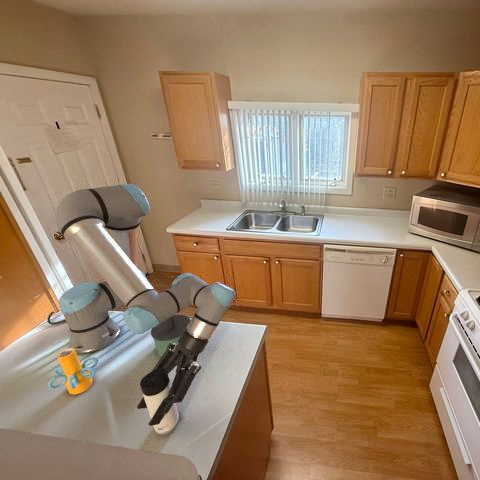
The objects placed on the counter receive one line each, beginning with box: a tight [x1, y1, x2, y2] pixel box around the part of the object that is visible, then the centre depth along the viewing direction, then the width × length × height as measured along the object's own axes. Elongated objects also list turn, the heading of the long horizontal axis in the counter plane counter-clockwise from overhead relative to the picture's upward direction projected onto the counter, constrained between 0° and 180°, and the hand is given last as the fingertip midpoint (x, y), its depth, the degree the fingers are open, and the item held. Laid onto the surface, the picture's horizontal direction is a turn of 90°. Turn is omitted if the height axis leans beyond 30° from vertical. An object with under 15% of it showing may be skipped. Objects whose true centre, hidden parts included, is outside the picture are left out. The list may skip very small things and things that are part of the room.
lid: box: [150, 314, 191, 341], centre depth 95 cm, size 13×13×9 cm
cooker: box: [152, 336, 181, 358], centre depth 99 cm, size 12×12×10 cm
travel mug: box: [139, 368, 180, 436], centre depth 70 cm, size 6×7×20 cm
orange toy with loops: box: [47, 347, 99, 395], centre depth 80 cm, size 12×10×15 cm
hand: (147, 415), depth 68 cm, fingers closed on travel mug, 6 cm apart
